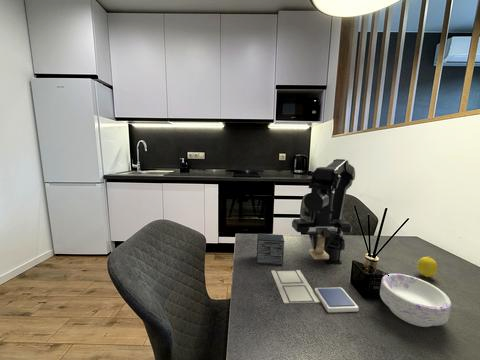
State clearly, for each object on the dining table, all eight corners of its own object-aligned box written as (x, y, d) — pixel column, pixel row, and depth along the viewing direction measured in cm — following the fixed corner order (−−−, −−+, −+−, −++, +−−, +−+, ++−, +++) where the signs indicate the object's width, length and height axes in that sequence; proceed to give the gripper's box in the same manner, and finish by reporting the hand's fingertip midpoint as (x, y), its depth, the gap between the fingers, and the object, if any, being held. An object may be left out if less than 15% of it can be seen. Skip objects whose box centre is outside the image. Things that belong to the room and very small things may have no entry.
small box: (281, 258, 91) (283, 234, 89) (283, 266, 84) (284, 240, 83) (256, 255, 92) (257, 232, 90) (256, 264, 85) (257, 238, 84)
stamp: (321, 252, 78) (323, 234, 77) (328, 259, 73) (330, 240, 72) (308, 252, 77) (310, 234, 76) (314, 260, 72) (316, 240, 71)
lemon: (432, 275, 82) (435, 255, 80) (438, 283, 77) (441, 262, 75) (413, 271, 84) (417, 251, 83) (418, 278, 79) (421, 258, 78)
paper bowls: (429, 346, 51) (435, 316, 50) (367, 304, 65) (370, 280, 64) (457, 324, 58) (462, 297, 57) (395, 290, 72) (399, 268, 71)
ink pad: (341, 290, 71) (341, 286, 70) (358, 311, 62) (358, 306, 61) (314, 291, 70) (314, 287, 70) (328, 312, 61) (328, 307, 61)
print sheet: (299, 270, 82) (299, 269, 81) (320, 302, 65) (320, 301, 65) (271, 271, 81) (271, 270, 81) (284, 303, 64) (284, 302, 64)
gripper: (336, 200, 81) (332, 239, 83) (288, 199, 80) (285, 239, 82) (354, 208, 70) (349, 253, 73) (299, 207, 69) (295, 253, 71)
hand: (318, 249), depth 75 cm, fingers closed on stamp, 3 cm apart
